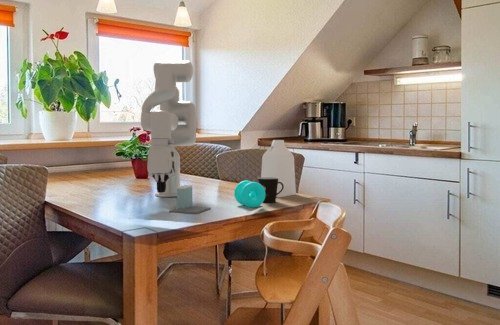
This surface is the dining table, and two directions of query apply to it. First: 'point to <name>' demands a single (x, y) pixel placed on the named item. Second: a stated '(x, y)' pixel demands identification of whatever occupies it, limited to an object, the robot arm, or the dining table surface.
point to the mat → (190, 210)
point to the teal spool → (249, 188)
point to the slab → (184, 196)
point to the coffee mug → (270, 188)
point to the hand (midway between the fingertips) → (161, 192)
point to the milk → (280, 167)
